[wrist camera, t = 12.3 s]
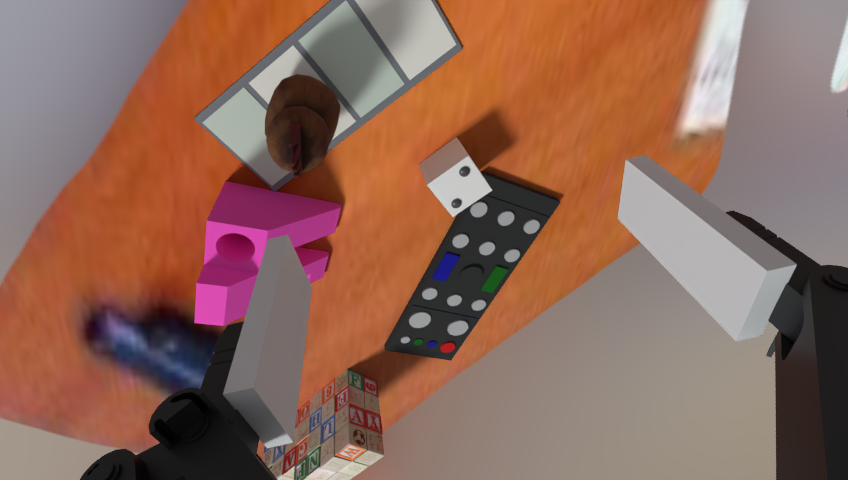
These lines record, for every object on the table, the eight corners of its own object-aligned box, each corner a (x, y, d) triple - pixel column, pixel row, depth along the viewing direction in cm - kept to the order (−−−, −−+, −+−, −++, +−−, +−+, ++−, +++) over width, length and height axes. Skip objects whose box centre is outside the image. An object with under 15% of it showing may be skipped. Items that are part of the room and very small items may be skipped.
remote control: (384, 342, 62) (385, 353, 60) (480, 168, 47) (485, 176, 46) (448, 352, 66) (451, 363, 64) (555, 196, 51) (562, 204, 50)
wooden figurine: (286, 54, 36) (262, 106, 24) (347, 83, 39) (353, 144, 27) (264, 122, 39) (232, 198, 27) (322, 145, 42) (316, 226, 30)
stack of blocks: (296, 445, 73) (290, 523, 63) (265, 435, 69) (253, 516, 59) (377, 380, 66) (385, 457, 56) (347, 366, 63) (349, 445, 53)
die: (456, 136, 44) (468, 156, 40) (478, 169, 47) (492, 190, 43) (418, 163, 45) (427, 185, 41) (443, 194, 48) (452, 217, 44)
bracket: (219, 257, 48) (194, 323, 39) (225, 180, 42) (199, 237, 34) (323, 272, 52) (320, 334, 43) (341, 203, 46) (342, 259, 38)
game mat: (400, -60, 33) (401, -60, 33) (462, 48, 39) (462, 48, 39) (194, 118, 38) (193, 118, 38) (275, 191, 44) (274, 192, 44)
